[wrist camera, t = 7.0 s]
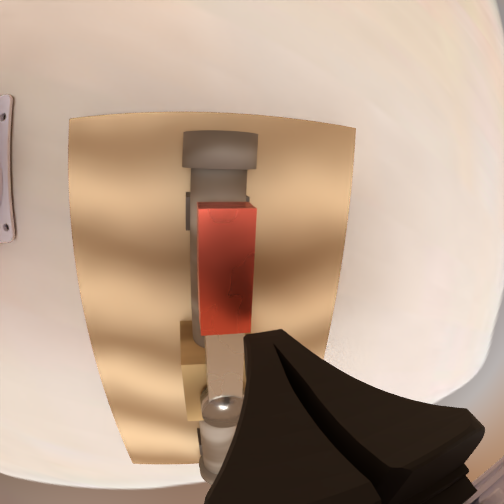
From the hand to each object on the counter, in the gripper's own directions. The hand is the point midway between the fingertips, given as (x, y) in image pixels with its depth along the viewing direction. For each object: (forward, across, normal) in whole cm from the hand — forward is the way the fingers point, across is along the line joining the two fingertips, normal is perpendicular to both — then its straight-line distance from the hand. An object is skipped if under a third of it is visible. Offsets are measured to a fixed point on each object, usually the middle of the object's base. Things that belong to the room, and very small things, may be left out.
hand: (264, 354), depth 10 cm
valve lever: (+3, +1, +1) cm, 4 cm away
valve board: (+9, +1, +5) cm, 11 cm away
